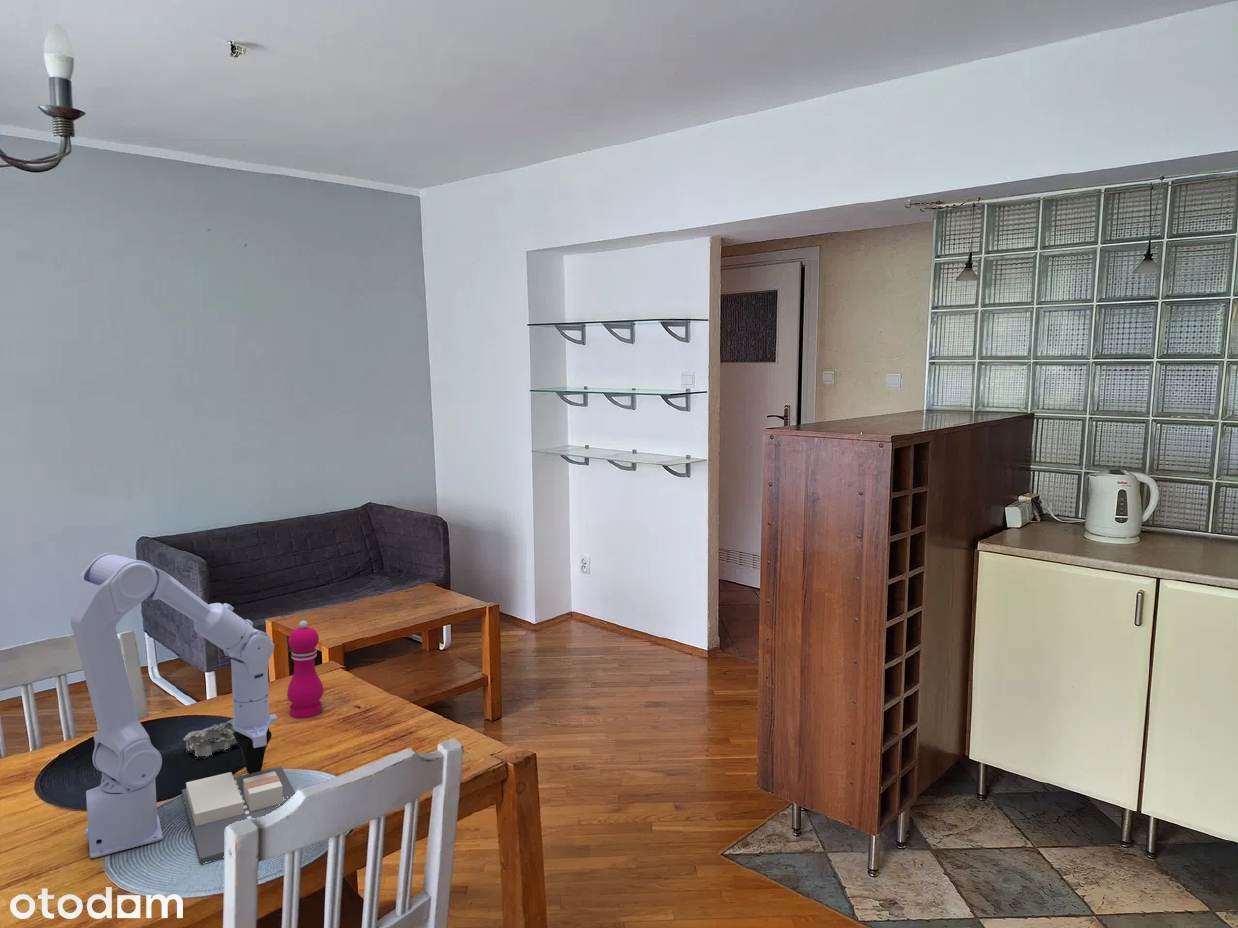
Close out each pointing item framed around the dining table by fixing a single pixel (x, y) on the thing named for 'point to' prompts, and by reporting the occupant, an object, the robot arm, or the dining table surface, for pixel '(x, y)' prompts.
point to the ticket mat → (216, 829)
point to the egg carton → (205, 746)
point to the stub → (263, 791)
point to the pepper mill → (304, 673)
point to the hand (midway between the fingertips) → (254, 770)
